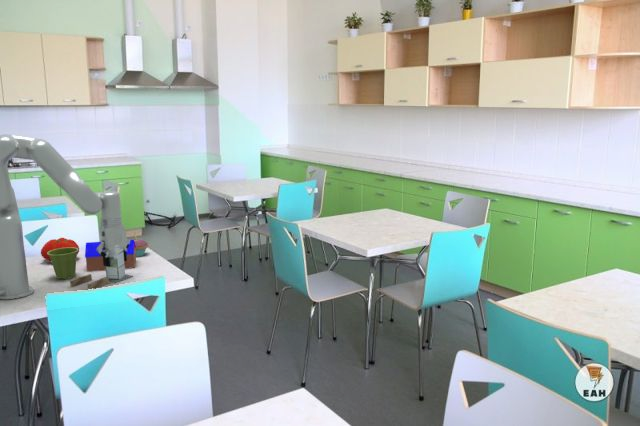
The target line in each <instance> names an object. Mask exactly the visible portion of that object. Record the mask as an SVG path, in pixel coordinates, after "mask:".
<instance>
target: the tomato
mask: <svg viewBox="0 0 640 426" xmlns="http://www.w3.org/2000/svg"><path fill="white" fill-rule="evenodd" d="M66 247H74V248H78V251H77V255H79V252H80V247H79V244H78V243H77V242H76V240H74V239H70V238H69V239H67V238H65V237H59V238H57V239H56V238H55V239H53V238H52V239H50V240H48V241H47V242H45V244H44V245H43V246H42V248H41V249H40V255H41V257H42V258H43V259H45V260H47V261H49V262H51V260H50V257H49V255H48V254H47V252H49V251H51V250H54V249H59V248H66Z"/></svg>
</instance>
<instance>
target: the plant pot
mask: <svg viewBox="0 0 640 426" xmlns="http://www.w3.org/2000/svg"><path fill="white" fill-rule="evenodd" d="M77 251H78V248H74V247H66V248H59V249H54V250H51V251H49V252H47V254H48V255H49V257H50V260H51V261H50V263H52V267H53V271H54V274H55V277H56V279H58V280H61V279H64V280H67V279H73V278H74V276H76V273H77V271H76V270H77V269H76V268H77V267H76V266H77V256H78V254H77Z"/></svg>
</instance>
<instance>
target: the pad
mask: <svg viewBox="0 0 640 426" xmlns="http://www.w3.org/2000/svg"><path fill="white" fill-rule="evenodd" d="M103 278H106V276H104V277H102V278H100V279H99V280H101V279H103ZM131 278H134V275H131V274H126V273H125V276H124V277H122V278H121V279H109V283H114V284H117V283H120V282H122V281H125V280H128V279H131Z"/></svg>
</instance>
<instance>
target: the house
mask: <svg viewBox="0 0 640 426" xmlns="http://www.w3.org/2000/svg"><path fill="white" fill-rule="evenodd" d="M134 241H135V239H130V243H129V247H128V249H127V251H126V255H127V261H124V266H125V270H126V269H135V267H136V262H137V256H136V253H135V247H136V246H135V242H134ZM100 244H101V241H93V242H89V241H88V242H85V251H84V258H85V262H86V270H87V271H86V272H97V271H100V272H101V271H106V266H104V265H103V257H101V255H100V254H99V253H98V252H97V250H96V249H97V247H98V246H99V245H100ZM102 251H103V250H102Z"/></svg>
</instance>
